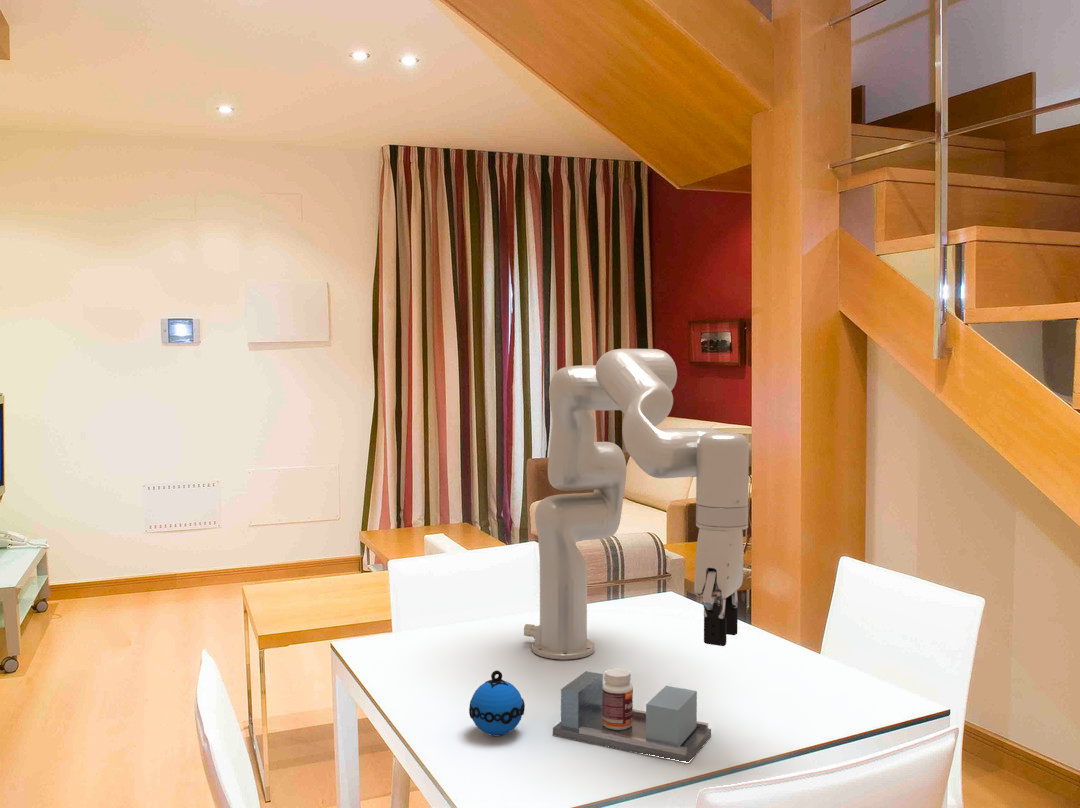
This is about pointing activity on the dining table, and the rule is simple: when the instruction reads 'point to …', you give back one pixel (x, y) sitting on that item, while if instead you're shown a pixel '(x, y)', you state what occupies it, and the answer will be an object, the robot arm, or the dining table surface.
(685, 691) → the plate
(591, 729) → the vise base
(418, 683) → the dining table surface
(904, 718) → the dining table surface
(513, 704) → the ornament
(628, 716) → the pill bottle
